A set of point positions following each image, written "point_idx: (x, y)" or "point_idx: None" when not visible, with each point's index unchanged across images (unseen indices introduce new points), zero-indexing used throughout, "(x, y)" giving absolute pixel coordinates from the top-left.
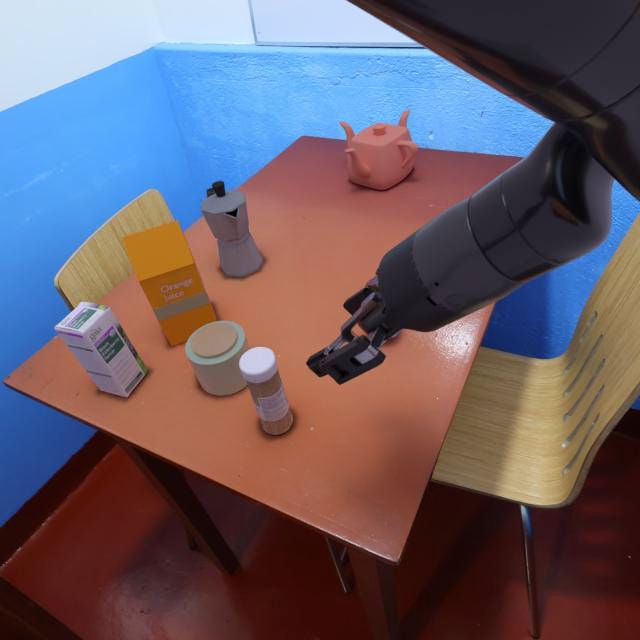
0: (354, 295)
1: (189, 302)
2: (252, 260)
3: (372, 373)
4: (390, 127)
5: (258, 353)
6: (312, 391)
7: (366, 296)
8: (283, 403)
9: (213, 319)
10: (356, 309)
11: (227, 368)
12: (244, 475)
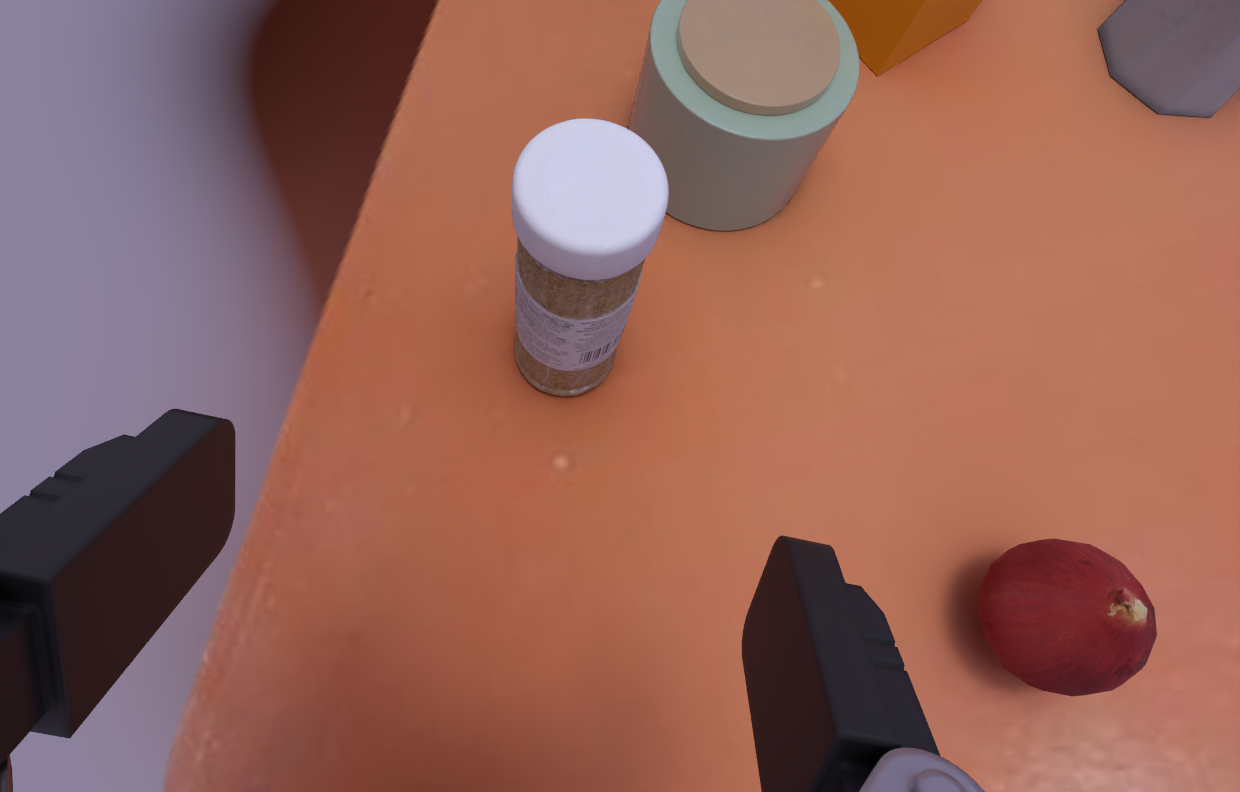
0: (836, 631)
1: None
2: (1192, 74)
3: None
4: None
5: (625, 178)
6: (701, 427)
7: (812, 768)
8: (558, 349)
9: (892, 36)
10: (767, 646)
11: (672, 128)
12: (371, 308)
